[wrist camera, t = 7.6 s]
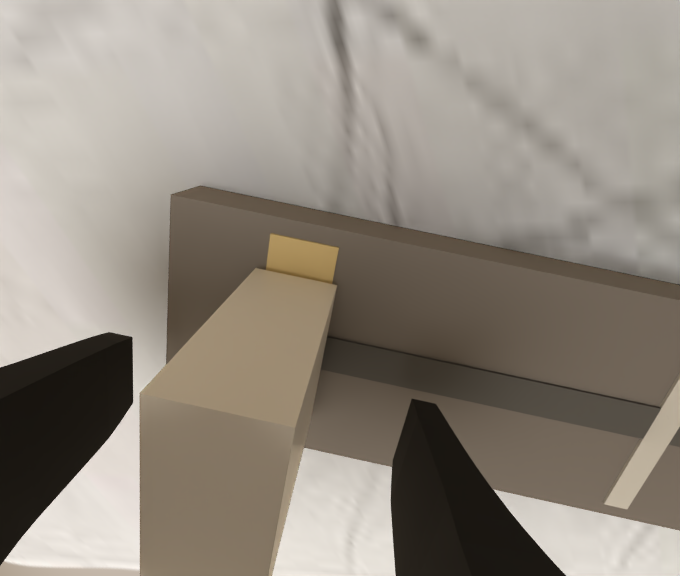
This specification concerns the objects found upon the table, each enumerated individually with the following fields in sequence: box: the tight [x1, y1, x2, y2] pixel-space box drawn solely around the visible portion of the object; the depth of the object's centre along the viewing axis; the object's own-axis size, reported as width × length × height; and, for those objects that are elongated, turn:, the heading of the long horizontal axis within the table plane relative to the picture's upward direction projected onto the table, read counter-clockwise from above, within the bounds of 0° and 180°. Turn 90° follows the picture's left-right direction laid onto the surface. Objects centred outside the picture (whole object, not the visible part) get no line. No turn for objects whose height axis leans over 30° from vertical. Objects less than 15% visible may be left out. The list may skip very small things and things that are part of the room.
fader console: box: [166, 186, 680, 530], centre depth 14 cm, size 20×8×2 cm, turn 80°
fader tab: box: [140, 268, 337, 576], centre depth 10 cm, size 2×5×6 cm, turn 170°
